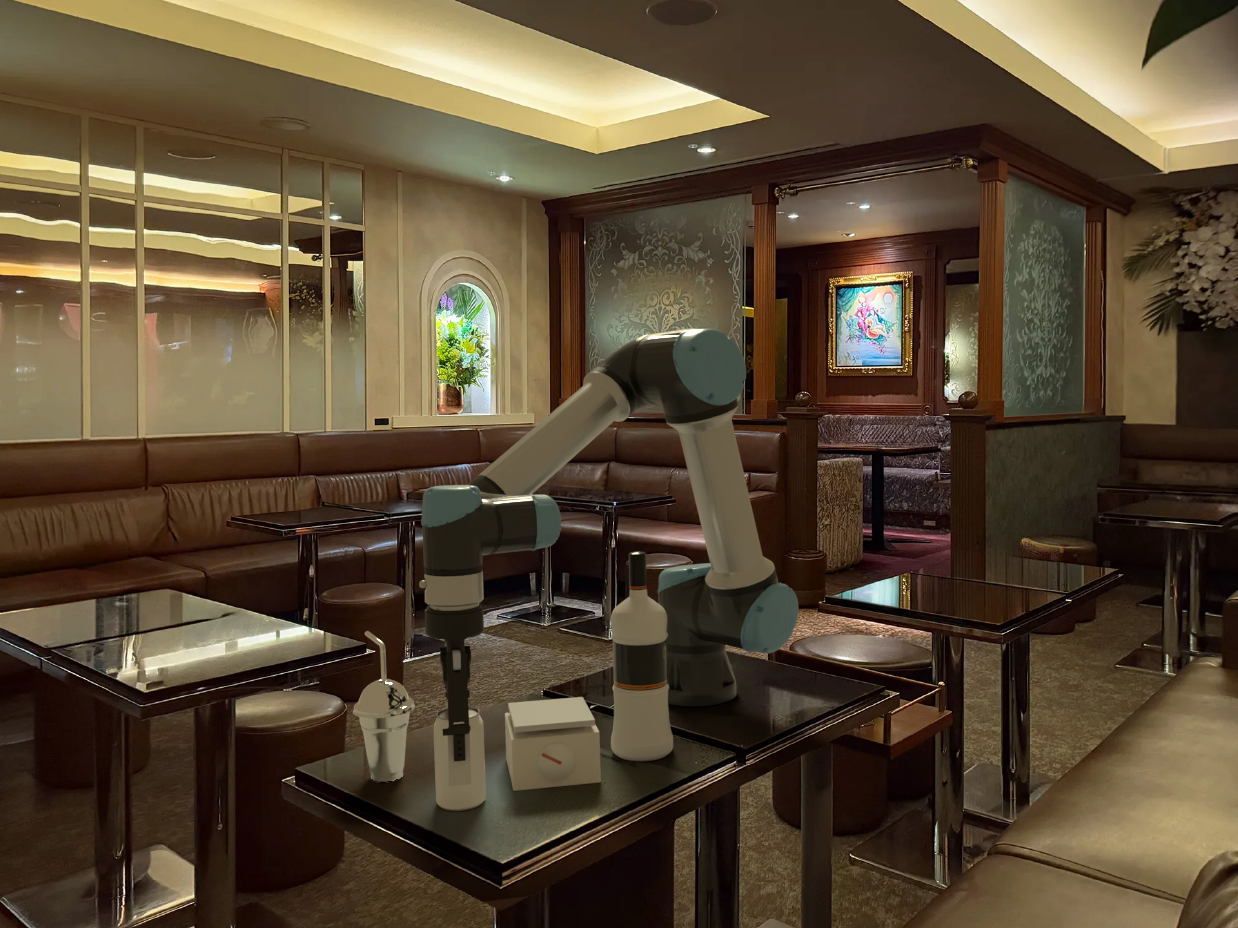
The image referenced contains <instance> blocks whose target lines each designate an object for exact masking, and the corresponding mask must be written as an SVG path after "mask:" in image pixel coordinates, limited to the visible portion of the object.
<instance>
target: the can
mask: <svg viewBox="0 0 1238 928" xmlns="http://www.w3.org/2000/svg"><path fill="white" fill-rule="evenodd" d="M468 708H469V725H470V729H471V730H470V762H471V784H468V785H456V786H449V769H448V736H443V729H448V727H449V722H448V708H446V707H445V708H443V709H440V710H439V711H437V712H436V713H435V714H436V715H435V716H436V719H435V722H434V724H433V750H434V751H433V753H434V757H433V758H434V777H435V782H434V784H435V800H436V804H437V805H438V806H439V807H440V808H441V809H443V810H445V811H450V812H463V811H469V810H470V811H471V810H472V809H475V808H478V807H479V806H481V805H482V804H483V803H484V802H485V800H486V797H487V795H486V794H487V793H486V792H487V790H486V761H485V760H486V759H485V758H486V757H485V733H484V731H485V730H484V721H483V719H482V717H481V715H480V709H479V708H478V707H475V706H470V705H468ZM463 723H464V722H455V723H453V724H463Z"/></svg>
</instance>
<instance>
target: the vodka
mask: <svg viewBox="0 0 1238 928" xmlns="http://www.w3.org/2000/svg"><path fill="white" fill-rule="evenodd" d="M646 557H647V553H646V552H644V551H637V550H636V551H631V552H629V553H628V574H629V575H628V581H629V582H628V584H629V586H628V587H629V595H628V597H627V598H625V599H624V600H623V601H621V602H620V603H619V604H617V605H616V606H615V607H614V608H613V610H612V612H611V615H610V627H611V640H612V661H613V669H612V670H613V686H612V691H613V703H614V706H613V708H614V709H613V715H614V716H613V726H612V732H611V733H612V734H611V736H610V749H611V750H612V753H614V755H615V756H617V757H618V758H620V759H623V760H626V761H631V762H638V763H639V762H652V761H656V760H660V759H663V758H665V757H666V756H667V755H669V754H670V753H671V752H672V750H673V748H674V736H673V732H672V729H671V728H672V727H671V722H670V713H669V710H670V709H669V704H668V690H669V685H668V684H667V683H668V679H667V636H668V633H667V614H666V611H665V609H664V608H663V607H662V606H661V605H660V604H658V601H657V602H656V600H654V599H652V598H651V597H650V596H649V595H648V585H647V579H648V578H647V558H646Z"/></svg>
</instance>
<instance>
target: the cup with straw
mask: <svg viewBox="0 0 1238 928" xmlns="http://www.w3.org/2000/svg"><path fill="white" fill-rule="evenodd" d="M364 635H365V636H366V637H367V638H368V639H370V640H371V641H372V642H374V643H375V645H377V646H379V650H380V652H379V653H380V673H381V674H380V675H381V676H380V679H377V680H374V681H373V682H371V683H369V684H368V685H367V686H366V687H365V688H364V689H363V690H362V691H361V694H360V697H359V699H358V701H357V702H356V703H355V704H354V705H353V710H352V713H353V715H354V716H356V717H358V718H359V720H358V721H359V724H360V726H361V731H362V734H363V739H364V745H365V746H364V747H365V751H366V752H365V753H366V759H367V764H368V765H367V766H368V771H369V773H370V777H371V779H373V780H374V781H379V782H380V781H385V782H386V781H392V782H395V780H396V779H398V780H401V779H402V778H403V776H404V772H403V771H404V768H405V760H406V759H405V758H406V746H407V744H406V743H407V730H408V726H409V720H410V714H411V713H410V712H412V711H413V710H414V709H415V708H416V705H415V703H414V699H413V697H410V696H409V693H408V691H407V690H406V688H405V686H403V685H402V684H401V683H400V682H398V681H396V680H393V679H390V678H387V657H386V645H385V643H384V642H383V641H382V640H381V639H379V638H378V637H377V636H376V635H374V634H373V633H372V632H370V631H369V630H367V631H365V632H364ZM401 777H402V778H401ZM371 779H370V780H371ZM374 781H373V782H374ZM396 781H397V780H396ZM379 782H378V783H379ZM386 783H387V782H386Z"/></svg>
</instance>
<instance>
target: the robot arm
mask: <svg viewBox="0 0 1238 928" xmlns="http://www.w3.org/2000/svg"><path fill="white" fill-rule="evenodd" d="M746 379H747V367H746V361H745V358H744V354H743V353H742V351H741V349H740V347H739V345H738V344H737V343H736V342H735V340H734V339H733V338H732V337H731V336H730V335H727V334H726V333H725V332H723V331H722V330H720V329H716V328H702V327H699V328H697V327H692V328H685V329H679V330H670V331H662V332H655V333H646V334H643V335H640V336H638V337H636V338H633V339H632V340H630V341H629V342H627V343H625V344H624V345H622V346H621V347H619V348H618V349H616V350H615V351H614V352H613V353H611V354H610V355H609V356H607V357H606V358H605V359H604V360H602V361H601V362H600V363H599V364H597V365H596V366H594V368H592V369H591V370H590V371H589V372H588V373H587V374H586V375H585V376H584V378H583V381H582V382H583V384H582V386H581V387H580V388H579V389H578V390H577V391H576V392H574V393H573V394H572V395H571V396H569V397H568V398H567V399H566V400H565V401H564V402H562V404H560V405H559V406H558V407H556V408H555V409H554V410H553V411H552V412H551V413H550V414H548V415H547V416H546V417H545V418H543V420H541V421H539V423H538V424H537V425H536V426H534V427H533V428H532V429H531V430H530V431H529V432H527V433H526V434H525V435H524V436H523V437H521V438H520V439H519V440H518V441H517V442H515V443H514V444H513V445H512V446H510V448H509V449H507V450H506V451H505V452H504V453H502V455H500V456H499V457H498V458H497V459H496V460H495V461H493V462H492V463H491V464H490V465H488V467H486V468H485V469H484V470H483V471H482V472H480V473H479V474H478V475H477V476H476V477H474V478H473V479H472V480H471V481H469V482H468V483H467V484H453V485H452V484H449V485H448V484H447V485H436V486H431V487H429V488H427V489H426V490H425V491H424V492H423V495H422V504H421V505H422V506H421V520H420V523H421V526H422V529H421V530H422V549H423V552H422V553H423V556H422V557H423V573H424V579H422V580H420V581H419V583H418V584H419V586H418V587H420V588H421V589H425V590H424V603H425V604H427V605H428V606H427V607H426V608H425V609H424V628H425V630H424V631H425V634H426V636H427V637H429V638H430V639H434V640H444V646H441V647H439V658H440V666H441V669H442V683H443V685H444V689H445V695H444V696H445V698H446V700H445V708H448V722H449V727H448V729H443V736H448V769H449V786H456V785H468V784H471V762H470V730H471V729H470V725H469V708H468V706H469V699H470V695H471V694H470V689H469V688H468V684H470V683H471V668H470V666H471V663H472V650H471V645H465V640H466V639H468V638H475V637H478V636H480V635H481V634H482V633H483V632H484V629H485V627H484V626H485V625H484V624H485V623H484V619H485V618H484V606H482V604H481V602H482V601H483V600H484V597H485V596H484V572H483V571H484V570H483V556H490V555H495V554H496V555H497V554H504V553H507V554H508V553H514V552H515V553H516V552H524V551H531V552H534V551H536V550H540V549H543V548H544V549H545V548H549V547H551V546H553V545H554V544H555V543H556V542H557V540H558V539H559V537H560V534H561V531H562V521H561V520H562V516H561V512H560V508H559V506H558V504H557V502H556V501H555V499H554V498H552V497H550V496H549V495H546V494H533V493H535V492H536V491H537V490H538V489H540V487H542V486H543V485H544V484H545V483H547V482H548V480H550V479H551V478H552V477H553V476H554V475H555V474H556V473H557V472H559V471H560V469H562V468H563V467H564V466H566V465H567V463H568V462H570V461H571V460H572V459H573V458H575V456H577V454H579V453H580V452H581V451H583V449H585V448H586V446H588V445H589V444H590V443H592V441H593V440H595V439H596V438H597V437H598V436H599V435H601V433H602V432H604V431H605V430H606V429H607V428H608V427H609V426H610V425H612V424H613V422H617V423H619V422H624V421H625V420H626V419H628V418H629V417H630V416H631V415H632V414H633V413H635V412H636V411H640V410H641V409H645V408H648V407H652V406H661V407H662V410H663V415H664V419H665V422H666V424H667V425H668V426H670V427H672V429H675V430H677V432H678V435H679V436H678V437H679V440H680V444H681V447H682V452H683V456H684V460H685V464H686V468H687V472H688V476H689V480H690V481H689V482H690V485H691V488H692V493H693V497H694V502H695V505H696V509H697V514H698V516H699V522H700V525H701V526H700V527H701V530H702V533H703V538H704V542H705V546H706V550H707V556H708V560H709V562H708V563H696V564H695V563H694V564H693V563H692V564H685V565H680V566H679V565H678V566H674V567H669V568H665V569H664V570H662V571H661V572H660V574H659V576H658V589H657V591H656V592H657V603H658V604H660V605H661V606H662V607H663V608H664V609H665V611H666V614H667V633H668V636H667V679H668V683H667V684H668V685H669V690H668V705H673V706H678V707H679V706H680V707H706V706H707V707H708V706H714V705H721V704H723V703H727V702H730V701H732V700H733V699H734V698H736V697H737V680H736V677H735V675H734V674H735V673H734V671H733V669H732V666H731V662H730V660H729V657H728V654H727V650H726V649H727V647H726V646H728V647H732V648H736V649H741V650H744V651H746V652H747V653H759V654H766V655H767V654H771V653H775V652H777V651H778V650H780V649H781V648H782V647H783V646H785V645H786V643H787V642H788V641H789V639H790V638H792V637H791V636H792V635H793V632H794V629H795V628H796V626H797V622H798V618H799V600H798V597H797V595H796V592H795V591H794V589H793V588H791V587H789V586H788V585H787V584H786V583H782V582H779V580H778V575H777V572H776V567H775V564H774V562H773V561H772V560H770V559H769V558H767V557H765V556H764V555H763V552H762V551H763V550H762V546H761V542H760V539H759V533H758V528H757V526H756V521H755V517H754V516H755V515H754V512H753V508H752V504H751V499H750V495H749V488H748V486H747V482H746V477H745V474H744V473H745V472H744V468H743V463H742V459H741V455H740V450H739V446H738V443H737V442H738V441H737V437H736V433H735V429H734V425H733V424H734V423H733V421H732V418H733V417H734V414H735V413H736V411H737V410H738V409H739V403H738V398H739V397H740V395H741V394H742V392H743V390H744V388H745V384H744V382H745V381H746ZM455 722H464V723H463V724H453V723H455Z"/></svg>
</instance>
